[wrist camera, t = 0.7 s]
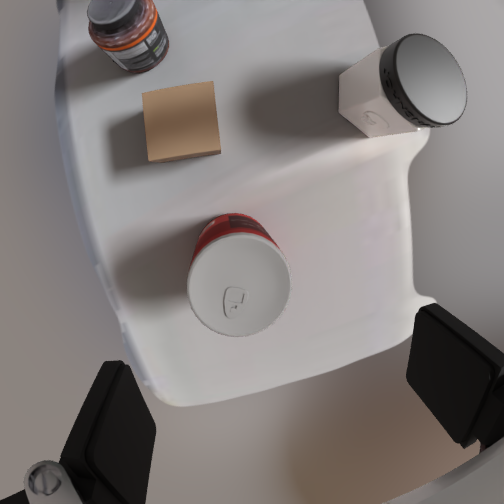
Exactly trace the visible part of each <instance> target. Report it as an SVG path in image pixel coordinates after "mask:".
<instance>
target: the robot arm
mask: <svg viewBox="0 0 504 504" xmlns="http://www.w3.org/2000/svg"><path fill="white" fill-rule="evenodd" d="M406 378H407V382H408V383H409V385H410V386H411V387H412V388H413V390H414V391H415V392H416V393H417V395H418V396H419V397H420V398H421V400H422V401H423V402H424V403H425V405H426V406H427V407H428V408H429V409H430V411H431V412H432V413H433V415H434V416H435V417H436V419H437V420H438V421H439V422H440V424H441V425H442V426H443V427H444V429H445V430H446V431H447V433H448V434H449V435H450V437H451V438H452V439H453V441H454V442H456V443H460V444H461V446H462V447H463V448H464V449H465V448H466V447H468V446H470V445H471V444H473V443H475V442H476V440H477V439H478V440H479V441H480V452H479V454H478V455H477V456H475V457H474V458H472V459H470V460H469V461H467V462H466V463H464V464H462V465H460V466H459V467H457V468H455V469H454V470H452V471H450V472H448V473H447V474H445V475H443V476H441V477H439V478H437V479H435V480H433V481H431V482H429V483H428V484H425V485H423V486H421V487H419V488H417V489H415V490H413V491H411V492H408V493H406V494H404V495H402V496H399V497H397V498H394V499H392V500H390V501H387V502H385V503H382V504H504V353H502V352H501V351H500V350H499V349H497V348H496V347H495V346H493V345H492V344H491V343H489V342H488V341H487V340H486V339H484V338H483V337H482V336H480V335H479V334H478V333H476V332H475V331H474V330H472V329H471V328H470V327H468V326H467V325H466V324H464V323H463V322H462V321H460V320H459V319H457V318H456V317H455V316H453V315H452V314H451V313H449V312H448V311H447V310H445V309H444V308H442V307H441V306H440V305H438V304H436V303H432V304H429V305H426V306H423V307H421V308H420V309H419V311H418V313H416V315H415V322H414V329H413V337H412V343H411V349H410V355H409V362H408V367H407V372H406ZM155 436H156V425H155V422H154V420H153V418H152V416H151V414H150V411H149V409H148V407H147V405H146V403H145V401H144V399H143V396H142V394H141V392H140V389H139V387H138V385H137V383H136V380H135V378H134V375H133V373H132V371H131V368H130V366H129V365H125V364H124V362H123V361H121V360H119V361H105V362H104V363H103V365H102V366H101V368H100V370H99V372H98V374H97V376H96V379H95V380H94V382H93V384H92V387H91V389H90V391H89V393H88V395H87V397H86V399H85V401H84V403H83V406H82V408H81V410H80V412H79V414H78V416H77V419H76V421H75V423H74V425H73V428H72V430H71V432H70V434H69V437H68V439H67V441H66V444H65V446H64V449H63V451H62V453H61V458H60V461H59V463H57V462H54V461H51V460H47V461H46V460H44V461H41V462H38V463H36V464H34V465H32V467H30V469H29V470H28V471H27V473H26V475H25V478H24V488H25V489H24V490H22V491H20V492H18V493H16V494H13V495H12V496H9V497H7V498H5V499H2V500H0V504H145V502H146V494H147V487H148V480H149V473H150V467H151V460H152V453H153V448H154V442H155Z"/></svg>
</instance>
